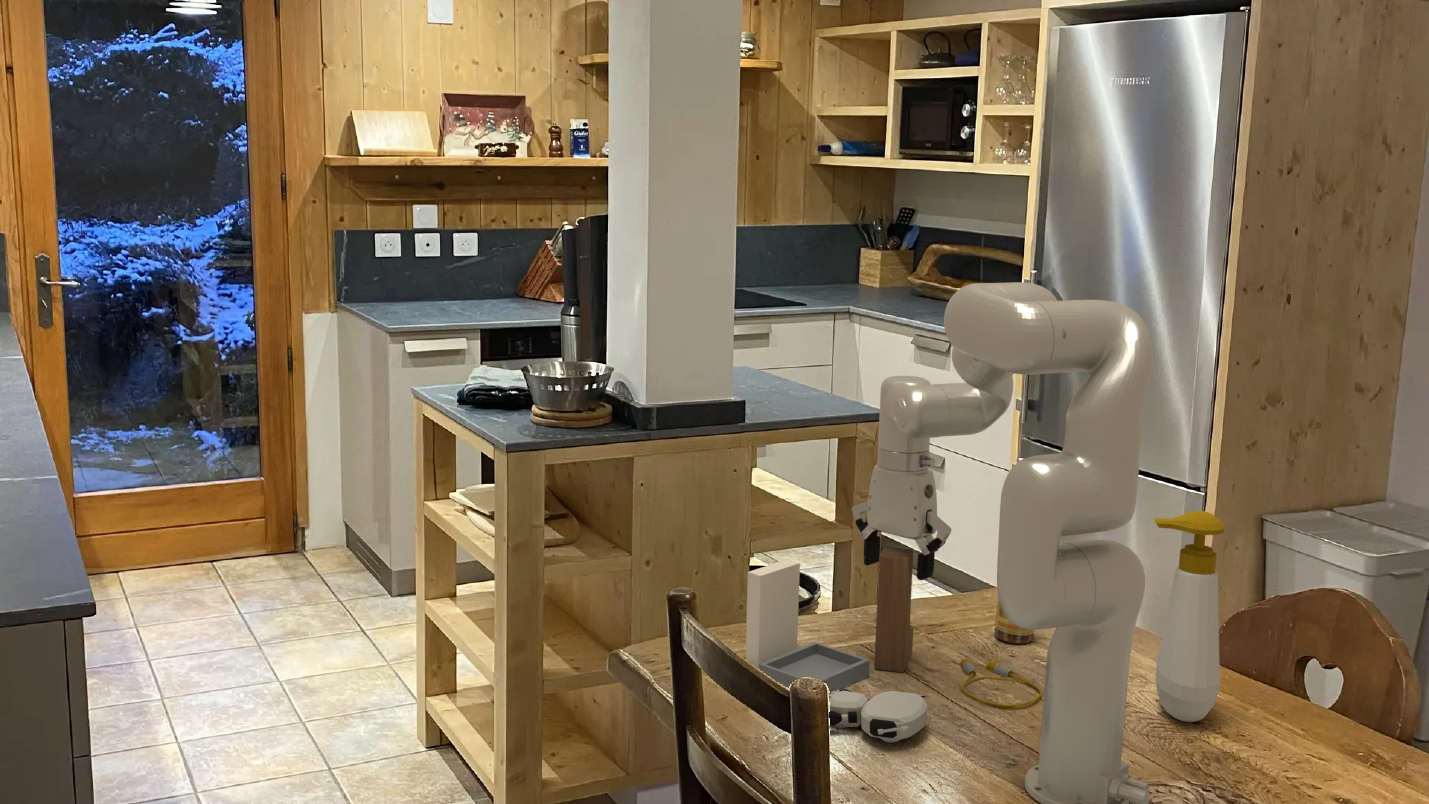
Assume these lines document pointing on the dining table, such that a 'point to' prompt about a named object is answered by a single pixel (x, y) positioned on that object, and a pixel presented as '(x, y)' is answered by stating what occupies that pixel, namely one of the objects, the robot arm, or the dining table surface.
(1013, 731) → the dining table surface
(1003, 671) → the extension cord
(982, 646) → the dining table surface
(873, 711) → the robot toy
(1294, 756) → the dining table surface
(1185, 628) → the soap bottle
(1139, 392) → the robot arm
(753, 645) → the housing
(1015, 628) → the sauce bottle
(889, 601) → the wooden block
